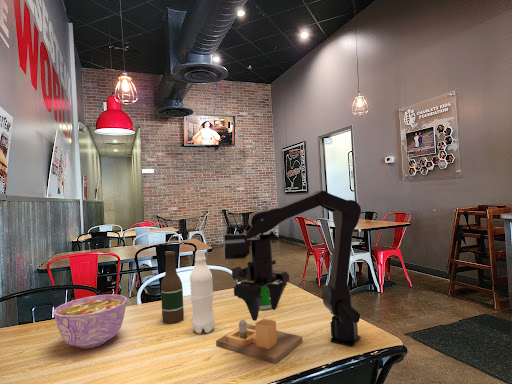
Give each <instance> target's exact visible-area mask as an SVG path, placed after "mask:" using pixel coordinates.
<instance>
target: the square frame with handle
mask: <svg viewBox="0 0 512 384" xmlns="http://www.w3.org/2000/svg"><path fill="white" fill-rule="evenodd" d="M254 325H255V327H256V330H252V329H248V328H247V335H251V336H249V337H248V338H246V339H242V338H239V337H236V336H238V335H239V327H237V328H238V329H237V328H236V329H237V330H235V329H234V330H235V331H234V330H232V331H233V332H232V331H230V332H231V333H230V332H229V333H230V334H228V333H227V334H228V335H227V334H225V335H226V336H225V335H224V336H225V341H229V342H232V343H236V344H239V345H243V346H247V345H249V344H250V343H256V346H259V347H263V348H266V349H270V348H271V347H272V346H274V345H275V344H276V343H277V336H276V331H277V321H276V320H273V319H267V318H262V319H260V320H258V321H256V322H255V323H254Z"/></svg>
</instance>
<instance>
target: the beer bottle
mask: <svg viewBox="0 0 512 384" xmlns="http://www.w3.org/2000/svg"><path fill="white" fill-rule="evenodd" d="M164 256H165V272H164V277H163V278H162V279H161V284H160V289H161V290H160V292H161V293H160V298H161V315H162V316H161V317H162V318H161V319H162V323H163V324H165V325H173V324H175V325H176V324H179V323H181V322H183V321H184V319H185V317H184V315H185V313H184V310H185V309H184V292H183V291H184V290H183V282H182V279H181V277H180V276H179V274H178V273H177V267H176V266H177V265H176V257H175V256H176V252H175V251H174V250H169V251H165V253H164Z"/></svg>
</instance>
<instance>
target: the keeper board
mask: <svg viewBox="0 0 512 384" xmlns="http://www.w3.org/2000/svg"><path fill="white" fill-rule="evenodd" d="M238 328H239V335H238V336H236V337H239V338H242V339H246V338H248V337H249V336H251V335H247V328H248V329H252V330H256V327H255V324H250V323H247V321H246V320H244V319H242V320H240V321H239V322H238V327H237V328H236V329H234V330H232V331H230V332H228V333H227V334H225V335H223V336H221V337H220V338H218V339H216V340H215V345H216V347H219V348H221V349H222V348H223V349H226V350H229V351H233V352H235V353H239V354H241V355H244V356H249V357H252V358H255V359H258V360H261V361H265V362H267V363H272V364H275V365H277V364H278V363H279V362H280V361H281V360H282V359H284V358H285V357H286V356H287V355H289V354H290V353H291V352H292V351H293V350H294V349H296V348H297V347H298V346H299V345H301V344H302V343H303V336H301V335H297V334H292V333H290V332H289V333H288V332H285V331H280V330H276V336H277V343H276V344H275V345H274V346H272V347H271V348H270V349H266V348H263V347H259V346H256V343H250V344H249V345H247V346H243V345H239V344H236V343H232V342H229V341H225V336H226V335H228V334H230V333H231V332H233V331H235V330H237V329H238Z"/></svg>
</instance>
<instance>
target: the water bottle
mask: <svg viewBox="0 0 512 384" xmlns="http://www.w3.org/2000/svg"><path fill="white" fill-rule="evenodd" d="M194 254H195V255H194V257H195V258H194V261H195V263H194V265H193V268H192V271H191V273H190V276H189V281H190V301H191V305H192V314H191V315H192V316H191V325H192V328H193V330H194V332H195V333H196V334H202V332H203V330H204V332H205V333H206V334H207V333H210V332H211V331H212V330H213V328H214V327H215V323H216V320H215V319H216V317H215V314H214V309H213V301H214V292H213V291H214V289H213V274H212V271H211V270H210V268H209V265H208V264H207V262H206V260H207V258H206V256H205V255H206V253H205V251H203V250H202V251H201V250H200V251H199V250H198V251H195V253H194Z"/></svg>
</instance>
